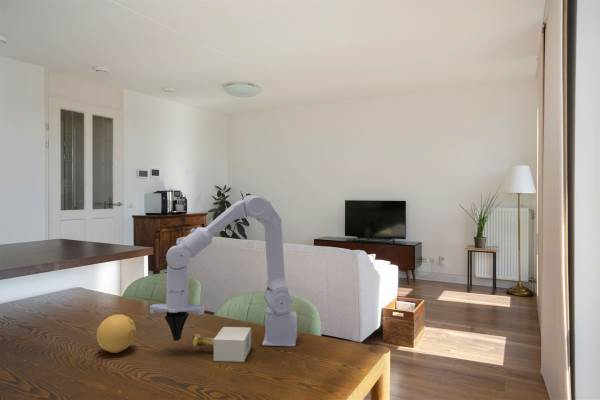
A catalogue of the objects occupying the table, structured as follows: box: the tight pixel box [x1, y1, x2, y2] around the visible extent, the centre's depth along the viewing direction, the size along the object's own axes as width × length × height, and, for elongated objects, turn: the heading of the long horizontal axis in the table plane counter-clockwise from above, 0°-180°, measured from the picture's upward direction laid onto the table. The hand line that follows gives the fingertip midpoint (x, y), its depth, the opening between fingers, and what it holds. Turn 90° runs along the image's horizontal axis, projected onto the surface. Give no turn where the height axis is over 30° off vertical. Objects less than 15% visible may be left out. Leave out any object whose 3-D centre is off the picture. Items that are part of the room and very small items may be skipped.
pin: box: [191, 333, 215, 350], centre depth 111 cm, size 13×4×4 cm, turn 87°
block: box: [213, 326, 252, 363], centre depth 110 cm, size 8×10×6 cm
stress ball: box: [96, 313, 137, 354], centre depth 111 cm, size 10×10×10 cm
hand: (177, 339), depth 111 cm, fingers closed
